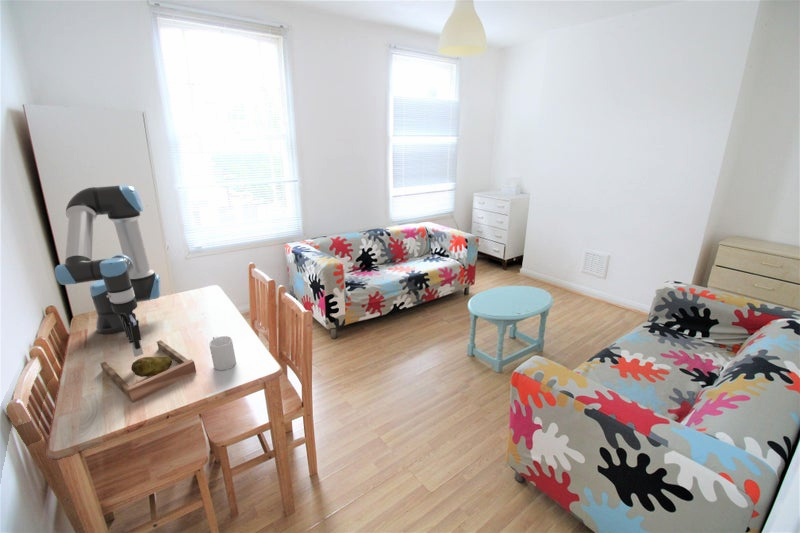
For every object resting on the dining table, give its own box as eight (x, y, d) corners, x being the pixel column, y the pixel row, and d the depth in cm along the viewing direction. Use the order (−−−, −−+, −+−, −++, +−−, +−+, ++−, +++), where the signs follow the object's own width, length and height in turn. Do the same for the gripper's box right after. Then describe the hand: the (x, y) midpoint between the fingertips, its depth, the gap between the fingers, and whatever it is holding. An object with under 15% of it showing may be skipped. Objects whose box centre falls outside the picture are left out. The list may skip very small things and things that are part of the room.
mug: (239, 364, 144) (235, 341, 141) (218, 373, 139) (213, 349, 136) (228, 352, 152) (223, 330, 149) (207, 360, 147) (202, 337, 144)
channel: (102, 371, 141) (99, 360, 139) (162, 347, 157) (159, 337, 155) (133, 402, 124) (129, 390, 122) (196, 372, 140) (193, 361, 138)
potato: (177, 371, 140) (172, 353, 138) (136, 386, 132) (131, 367, 130) (172, 362, 146) (167, 345, 143) (133, 376, 138) (127, 357, 135)
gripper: (104, 298, 137) (121, 353, 145) (117, 308, 129) (134, 365, 137) (127, 292, 142) (142, 345, 150) (141, 300, 135) (156, 356, 143)
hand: (138, 354), depth 144 cm, fingers closed
